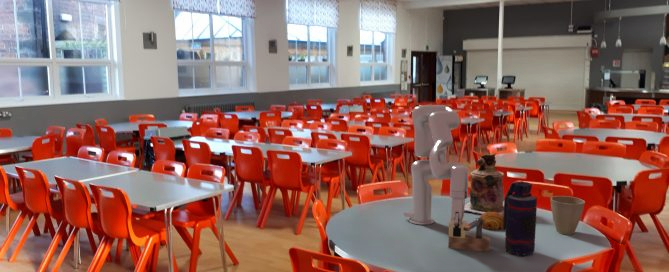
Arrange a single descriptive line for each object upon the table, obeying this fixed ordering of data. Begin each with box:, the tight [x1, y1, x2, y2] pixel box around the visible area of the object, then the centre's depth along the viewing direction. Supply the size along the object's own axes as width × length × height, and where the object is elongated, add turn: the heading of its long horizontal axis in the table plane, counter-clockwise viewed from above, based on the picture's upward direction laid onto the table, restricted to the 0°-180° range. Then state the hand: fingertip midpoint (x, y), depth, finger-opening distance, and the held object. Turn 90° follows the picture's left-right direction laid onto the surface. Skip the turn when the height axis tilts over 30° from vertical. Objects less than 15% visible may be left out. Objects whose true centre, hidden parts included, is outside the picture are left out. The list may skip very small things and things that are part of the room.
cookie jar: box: [464, 152, 505, 215], centre depth 288 cm, size 25×25×32 cm
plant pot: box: [550, 195, 586, 236], centre depth 249 cm, size 15×15×16 cm
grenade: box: [503, 180, 538, 257], centre depth 223 cm, size 14×12×30 cm
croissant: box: [478, 211, 504, 231], centre depth 260 cm, size 14×16×8 cm
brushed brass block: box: [448, 219, 468, 238], centre depth 230 cm, size 7×6×6 cm
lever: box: [463, 217, 483, 232], centre depth 221 cm, size 16×3×2 cm, turn 142°
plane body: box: [448, 224, 491, 253], centre depth 228 cm, size 17×5×11 cm, turn 71°
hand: (457, 233), depth 230 cm, fingers closed on brushed brass block, 6 cm apart
